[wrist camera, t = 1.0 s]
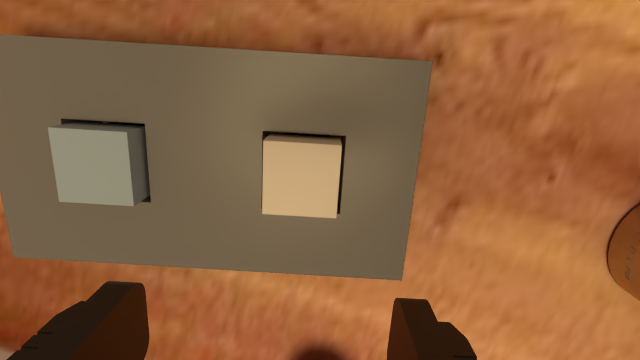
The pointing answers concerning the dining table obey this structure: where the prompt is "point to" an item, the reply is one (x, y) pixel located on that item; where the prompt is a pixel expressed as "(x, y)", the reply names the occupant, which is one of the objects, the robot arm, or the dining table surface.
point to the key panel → (212, 154)
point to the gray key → (100, 163)
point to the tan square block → (301, 175)
